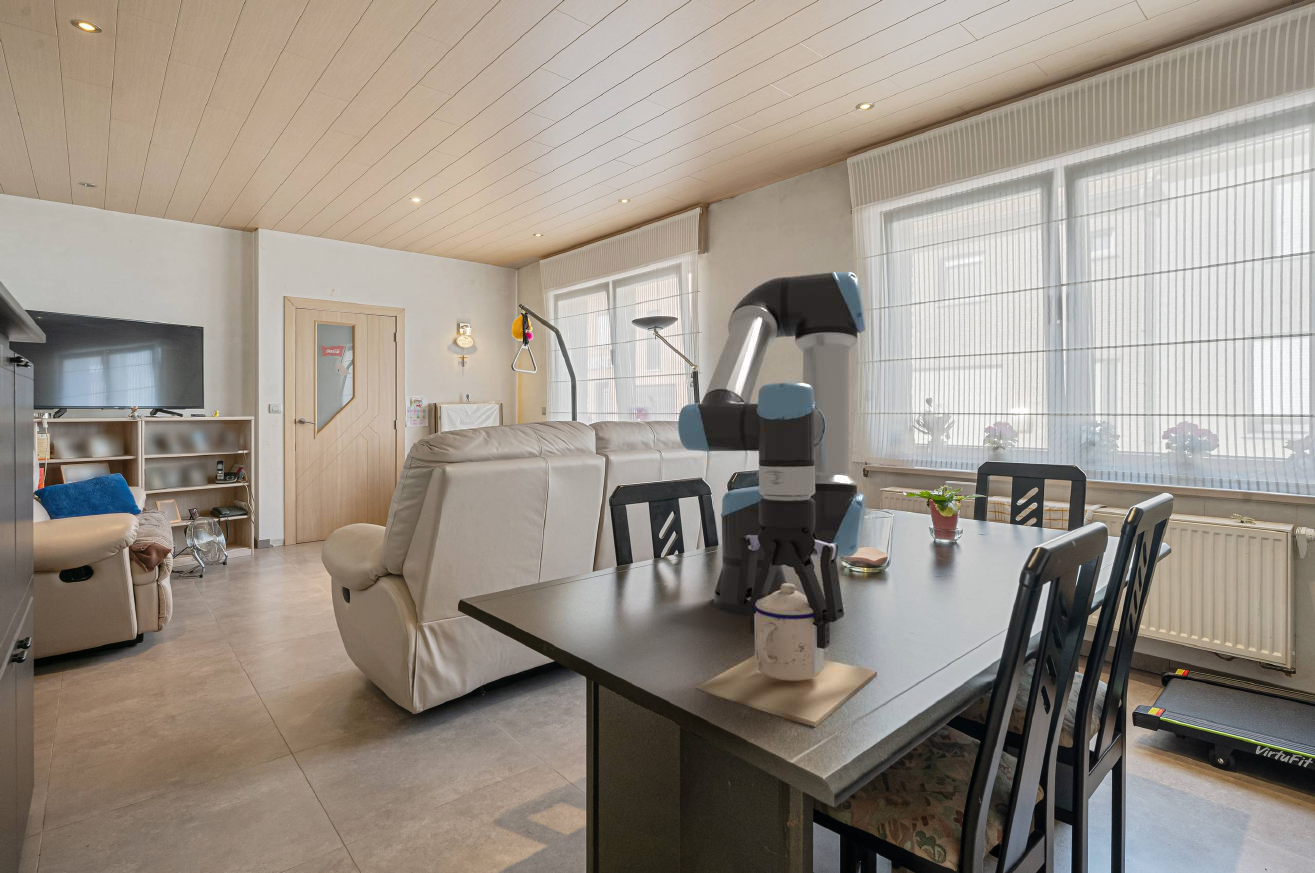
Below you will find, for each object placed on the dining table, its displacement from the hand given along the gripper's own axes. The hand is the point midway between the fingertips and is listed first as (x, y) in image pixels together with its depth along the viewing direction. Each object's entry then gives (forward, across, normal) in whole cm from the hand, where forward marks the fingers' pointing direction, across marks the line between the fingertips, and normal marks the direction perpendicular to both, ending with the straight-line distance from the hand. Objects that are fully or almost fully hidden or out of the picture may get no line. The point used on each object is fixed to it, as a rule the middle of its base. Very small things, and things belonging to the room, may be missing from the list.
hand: (788, 664), depth 89 cm
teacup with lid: (+1, 0, -2) cm, 2 cm away
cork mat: (+3, 0, 0) cm, 3 cm away
